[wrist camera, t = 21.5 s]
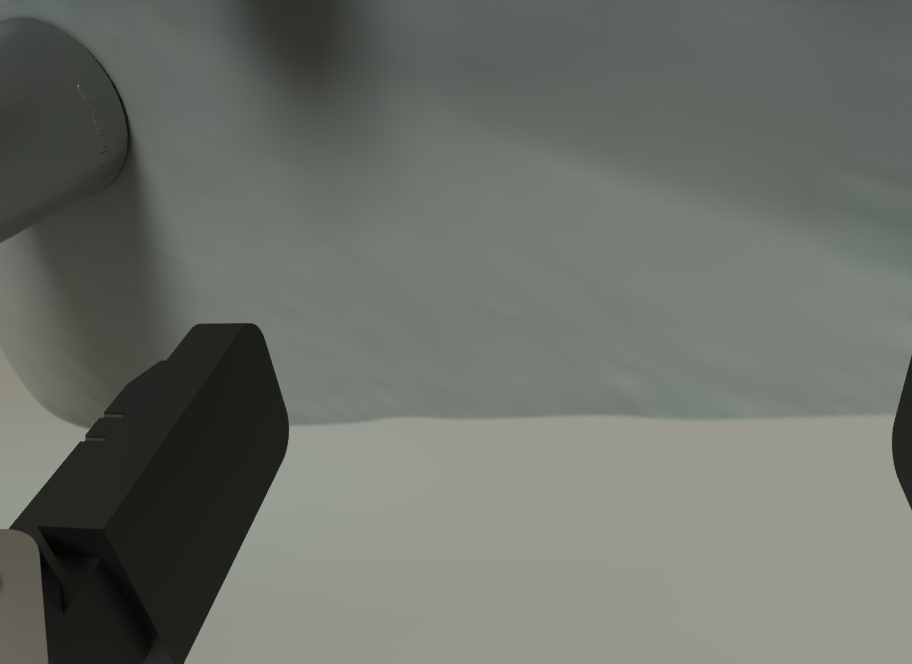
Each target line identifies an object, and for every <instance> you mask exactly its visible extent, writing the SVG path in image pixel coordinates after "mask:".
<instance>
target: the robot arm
mask: <svg viewBox="0 0 912 664" xmlns="http://www.w3.org/2000/svg"><path fill="white" fill-rule="evenodd" d="M127 140H128V134H127V127H126V120H125V115H124V112H123V109H122V106H121V103H120V100H119V97H118V95H117V93H116V91H115V89H114V87H113V85H112V83H111V81H110V79H109V78H108V76H107V75H106V74H105V72H104V71H103V69H102V68H101V66H100V65H99V63H98V62H97V61H96V60H95V59H94V58H93V56H92V55H91V54H90V53H89V52H88V51H87V50H86V49H85V48H84V47H83V46H82V45H81V44H80V43H78V42H77V41H76V40H75V39H73V38H72V37H71V36H70V35H68V34H67V33H66V32H64V31H62V30H60V29H58V28H56V27H55V26H53V25H51V24H49V23H46V22H42V21H39V20H36V19H33V18H13V19H9V20H4V21H0V243H1V242H3V241H5V240H7V239H9V238H11V237H12V236H14V235H16V234H18V233H20V232H22V231H23V230H25V229H27V228H29V227H31V226H33V225H34V224H36V223H38V222H40V221H42V220H44V219H45V218H47V217H49V216H51V215H53V214H55V213H57V212H59V211H61V210H62V209H64V208H66V207H68V206H70V205H72V204H73V203H75V202H77V201H79V200H81V199H83V198H84V197H86V196H88V195H90V194H92V193H94V192H95V191H97V190H99V189H101V188H103V187H105V186H106V185H108V184H109V183H110V182H111V181H112V180H113V179H115V178H116V176H117V175H118V173H119V171H120V170H121V168H122V167H123V164H124V160H125V157H126V153H127ZM104 414H105V416H104V418H99V419H98V420H97V422H96V423H95V424H94V425H93V427H92V428H91V429H90V430H89V431H88V433H87V434H86V435H85V436H86V439H85V442H79V444H78V445H77V446H76V447H75V448H74V450H73V451H72V452H71V453H70V455H69V456H68V457H67V458H66V460H65V461H64V462H63V463H62V464H61V466H60V467H59V468H58V469H57V470H56V472H55V473H54V474H53V475H52V477H51V478H50V479H49V480H48V482H47V483H46V484H45V485H44V486H43V488H42V489H41V490H40V491H39V493H38V494H37V495H36V496H35V497H34V499H33V500H32V501H31V502H30V503H29V505H28V506H27V507H26V508H25V509H24V511H23V512H22V513H21V514H20V516H19V517H18V518H17V519H16V520H15V522H14V523H13V524H12V525H11V527H10V528H9V529H0V664H184V662H185V660H186V657H187V656H188V654H189V652H190V650H191V647H192V645H193V643H194V641H195V639H196V637H197V635H198V633H199V631H200V629H201V627H202V625H203V623H204V621H205V619H206V617H207V615H208V613H209V611H210V609H211V607H212V604H213V602H214V600H215V598H216V596H217V594H218V592H219V590H220V588H221V586H222V584H223V582H224V580H225V578H226V576H227V574H228V572H229V570H230V567H231V566H232V563H233V561H234V559H235V557H236V555H237V553H238V551H239V549H240V547H241V545H242V543H243V541H244V539H245V537H246V535H247V533H248V531H249V529H250V527H251V525H252V522H253V521H254V518H255V516H256V514H257V512H258V510H259V508H260V506H261V504H262V502H263V500H264V498H265V496H266V494H267V491H268V490H269V488H270V486H271V484H272V482H273V480H274V478H275V475H276V473H277V471H278V469H279V467H280V465H281V463H282V461H283V459H284V456H285V453H286V450H287V445H288V437H289V422H288V415H287V411H286V407H285V404H284V401H283V398H282V394H281V391H280V388H279V384H278V381H277V378H276V374H275V371H274V368H273V365H272V361H271V358H270V355H269V351H268V348H267V345H266V342H265V339H264V336H263V334H262V332H261V330H260V329H259V327H258V326H256V325H255V324H253V323H225V324H198V325H196V326H194V327H193V328H192V329H191V330H190V331H189V332H188V334H187V335H186V336H185V337H184V339H183V340H182V341H181V343H180V344H179V345H178V346H177V348H176V349H175V350H174V351H173V353H172V354H171V355H170V357H169V358H168V359H167V360H166V361H159V362H158V363H157V364H155V365H154V366H152V367H151V368H150V369H148V370H147V371H145V372H144V373H143V374H141V375H140V376H138V377H137V378H135V379H134V380H133V381H131V382H130V383H128V384H127V385H126V386H125V388H124V389H123V390H122V391H121V392H120V394H119V395H118V396H117V397H116V398H115V400H114V401H113V402H112V403H111V405H110V406H109V407H108V408H107V409H106V411H105V412H104ZM892 452H893V461H894V466H895V470H896V474H897V477H898V479H899V482H900V484H901V486H902V489H903V491H904V493H905V496H906V498H907V500H908V502H909V505H910V507H911V509H912V356H911V360H910V364H909V368H908V371H907V375H906V379H905V383H904V387H903V390H902V394H901V398H900V402H899V406H898V410H897V413H896V417H895V422H894V426H893V433H892Z"/></svg>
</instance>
